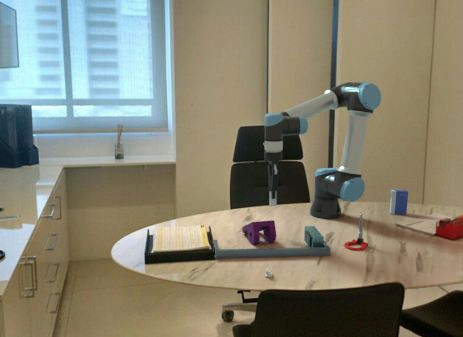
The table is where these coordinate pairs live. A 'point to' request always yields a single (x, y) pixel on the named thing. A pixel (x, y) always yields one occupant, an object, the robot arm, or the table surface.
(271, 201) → the robot arm
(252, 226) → the mounting bracket
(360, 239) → the red ring with rod
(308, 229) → the rail
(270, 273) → the power adapter
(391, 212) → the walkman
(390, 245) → the table surface
